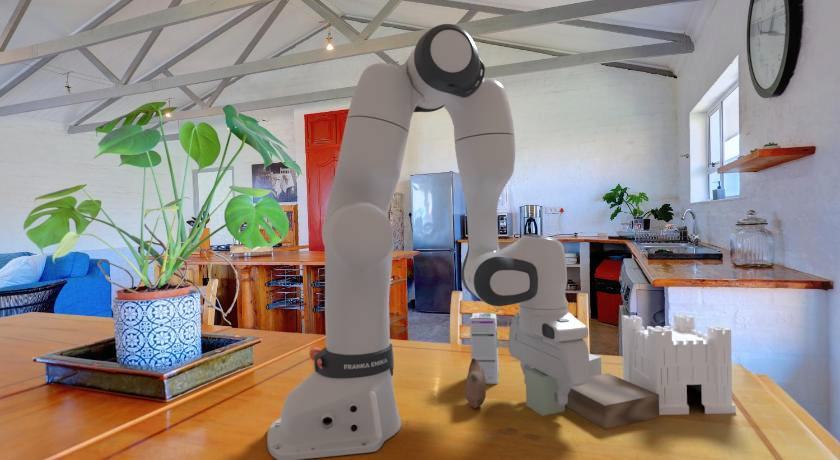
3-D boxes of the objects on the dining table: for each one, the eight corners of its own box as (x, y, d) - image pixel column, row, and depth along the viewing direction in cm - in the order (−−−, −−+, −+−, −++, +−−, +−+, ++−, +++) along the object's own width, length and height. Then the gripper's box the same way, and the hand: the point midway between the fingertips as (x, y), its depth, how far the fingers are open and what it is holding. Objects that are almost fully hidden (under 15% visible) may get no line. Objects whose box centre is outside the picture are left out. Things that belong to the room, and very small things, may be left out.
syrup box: (498, 384, 95) (496, 317, 94) (471, 383, 96) (469, 317, 96) (498, 375, 100) (497, 312, 100) (473, 374, 101) (471, 312, 101)
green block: (542, 416, 79) (541, 377, 79) (526, 405, 84) (525, 369, 83) (564, 411, 81) (564, 373, 80) (548, 401, 85) (547, 365, 85)
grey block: (587, 390, 90) (586, 361, 90) (567, 383, 94) (566, 355, 94) (601, 384, 93) (601, 356, 93) (581, 378, 97) (580, 351, 97)
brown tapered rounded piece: (465, 394, 90) (464, 355, 89) (484, 394, 89) (484, 355, 89) (465, 413, 81) (464, 370, 81) (487, 413, 80) (486, 370, 80)
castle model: (687, 384, 92) (686, 313, 92) (735, 413, 78) (734, 330, 78) (620, 385, 92) (619, 315, 92) (656, 415, 78) (654, 331, 78)
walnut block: (605, 429, 73) (604, 405, 73) (559, 402, 84) (559, 381, 84) (659, 417, 77) (658, 394, 77) (608, 393, 88) (608, 373, 88)
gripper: (500, 312, 91) (501, 378, 91) (564, 334, 71) (566, 418, 72) (526, 309, 93) (527, 374, 93) (595, 330, 73) (596, 411, 74)
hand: (545, 393), depth 82 cm, fingers open, 8 cm apart
